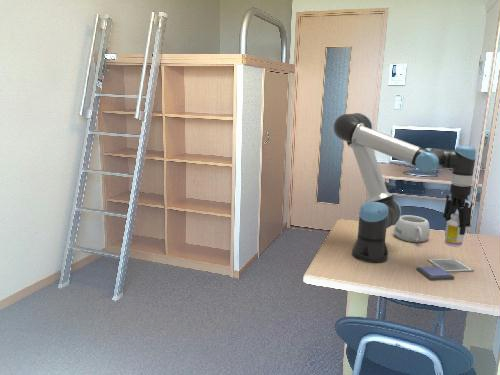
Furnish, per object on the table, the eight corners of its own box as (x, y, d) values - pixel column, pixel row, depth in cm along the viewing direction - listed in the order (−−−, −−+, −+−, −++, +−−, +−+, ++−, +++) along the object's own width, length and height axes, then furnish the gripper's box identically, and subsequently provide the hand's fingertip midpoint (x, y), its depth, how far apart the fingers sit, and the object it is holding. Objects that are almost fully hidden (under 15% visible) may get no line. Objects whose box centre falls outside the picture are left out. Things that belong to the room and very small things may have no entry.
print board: (444, 272, 173) (445, 271, 173) (426, 260, 185) (426, 259, 185) (473, 271, 175) (473, 270, 175) (453, 259, 187) (454, 258, 187)
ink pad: (430, 280, 165) (430, 276, 164) (416, 270, 174) (416, 266, 174) (453, 279, 166) (454, 275, 166) (438, 269, 176) (439, 265, 176)
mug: (389, 231, 223) (391, 213, 221) (421, 233, 222) (424, 214, 220) (401, 246, 202) (404, 226, 200) (437, 247, 201) (440, 227, 199)
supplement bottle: (463, 248, 174) (468, 217, 171) (446, 246, 175) (450, 216, 173) (459, 242, 181) (463, 213, 178) (442, 241, 182) (446, 212, 179)
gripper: (486, 189, 164) (477, 246, 169) (454, 179, 183) (447, 231, 188) (468, 190, 162) (460, 247, 167) (438, 179, 181) (431, 231, 186)
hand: (453, 238), depth 177 cm, fingers closed on supplement bottle, 7 cm apart
